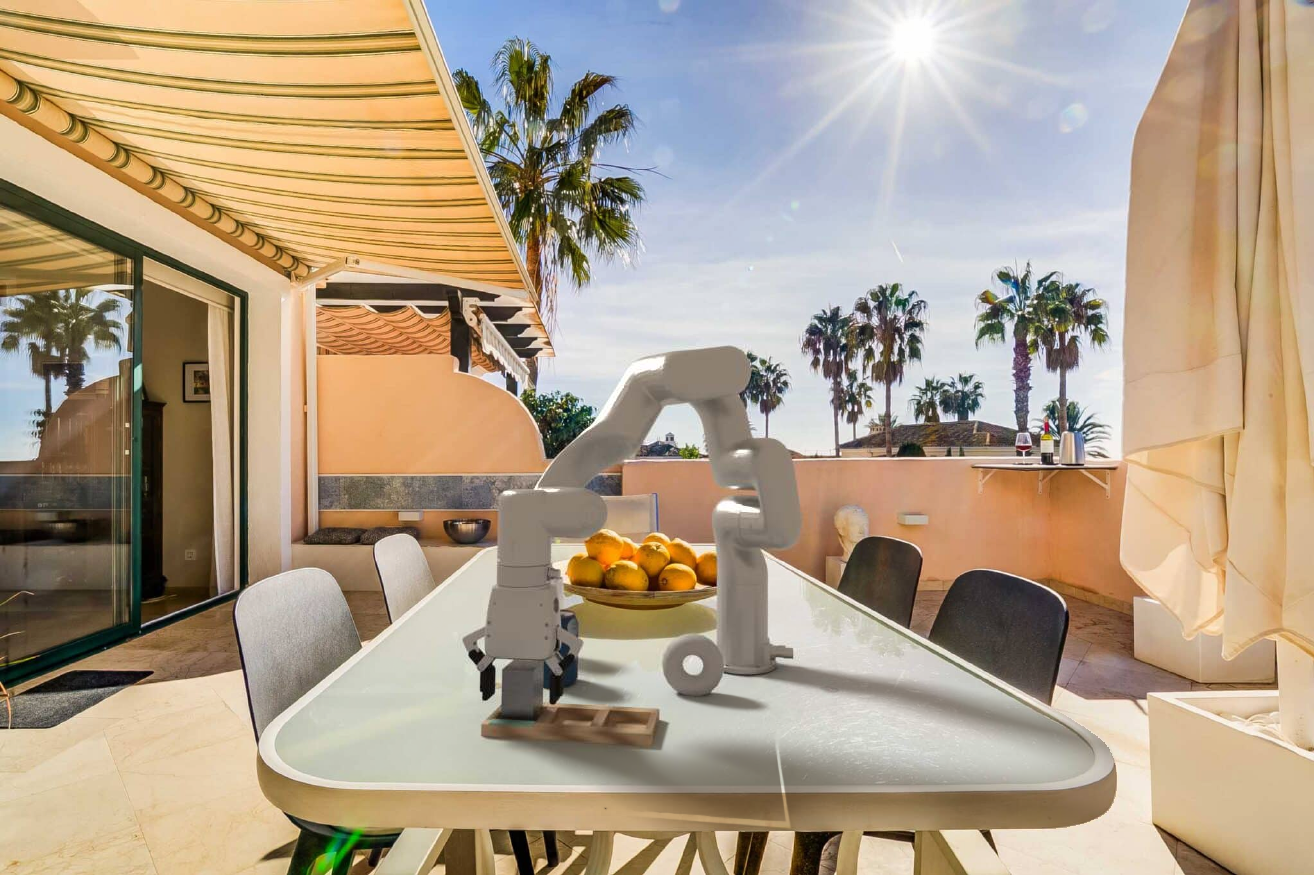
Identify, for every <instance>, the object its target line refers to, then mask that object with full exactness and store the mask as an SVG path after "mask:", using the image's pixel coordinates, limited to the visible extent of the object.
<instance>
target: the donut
mask: <svg viewBox="0 0 1314 875" xmlns="http://www.w3.org/2000/svg"><path fill="white" fill-rule="evenodd" d="M662 656H663V657H662V662H661V665H662V671H663V676H664V677H665V680H666V682H667V684H668V685H669V686H670V687H671V688H672V689H673V690H674V691H675V692H677V693H679V694H680V695H683V696H689V697H702V696H705V695H707V694H710V693H712V692H713V691H714V689H716V688H717V687H718V686H719V684H720V682H721V680H722V678H723V675H724V672H723V670H724V663H723V656H722V654H721V652H720V650H719V648H718V647H717V644H716V643H715V641H713V640H712V639H710V638H709V637H707V636H705V635H703V634H700V633H695V632H694V633H685V634H682V635H680V636H678V637H676V638H674V639H673V640H672V641H671V642H670V643H669V644H668V645H667V647H666V649H665V651H664V652H663V655H662ZM689 656H696V657H697V658H699V659H700V660H701V661H702V665H703V666H702V670H701V671H700V672H699V673H697V674H690V673H689V672H687V671H686V670H685V668H684V665H683V664H684V661H685V659H686V657H689Z"/></svg>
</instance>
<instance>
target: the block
mask: <svg viewBox="0 0 1314 875" xmlns="http://www.w3.org/2000/svg"><path fill="white" fill-rule="evenodd" d="M543 670H544V661H531V660H511V661H510V662H509V663H507V665H505V666H504V667H502V669H501V698H500V699H501V702H500V703H501V704H500V705H501V719H506V720H523V721H535V723H536V721H537V720H538V719H539V718H540V716H541V715H542V714H543V702H544V687H543Z"/></svg>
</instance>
